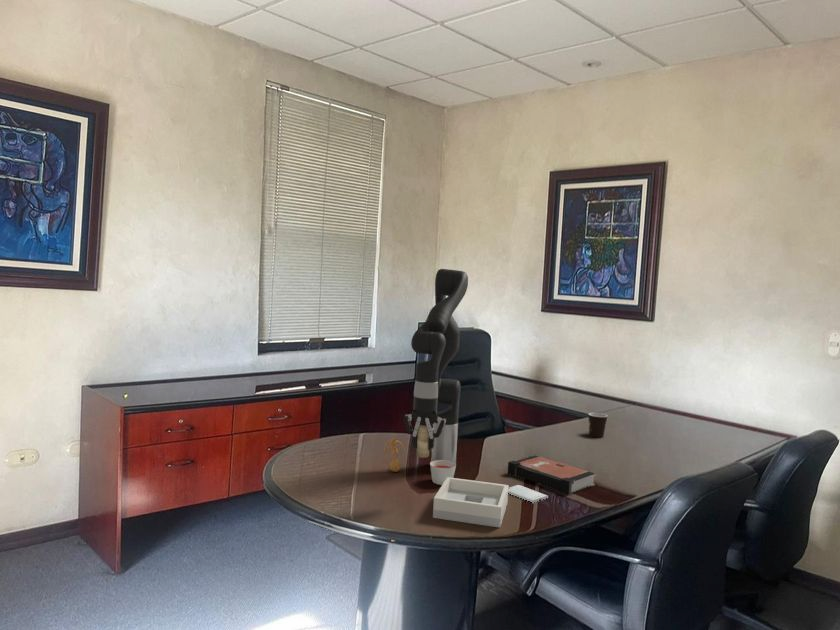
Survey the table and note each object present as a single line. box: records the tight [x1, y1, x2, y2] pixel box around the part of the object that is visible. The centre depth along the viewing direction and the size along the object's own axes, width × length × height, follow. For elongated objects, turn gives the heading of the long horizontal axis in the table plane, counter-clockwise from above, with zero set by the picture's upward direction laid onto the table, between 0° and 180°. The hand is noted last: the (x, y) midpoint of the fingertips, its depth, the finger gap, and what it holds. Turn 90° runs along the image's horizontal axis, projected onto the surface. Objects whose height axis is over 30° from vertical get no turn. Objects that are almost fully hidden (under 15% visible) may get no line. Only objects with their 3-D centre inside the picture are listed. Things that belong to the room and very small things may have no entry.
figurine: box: [383, 437, 406, 473], centre depth 227 cm, size 8×6×12 cm
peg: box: [416, 425, 430, 459], centre depth 197 cm, size 4×4×10 cm
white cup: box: [429, 460, 457, 486], centre depth 218 cm, size 9×9×6 cm
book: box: [507, 455, 597, 495], centre depth 227 cm, size 26×18×5 cm
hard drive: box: [508, 484, 549, 504], centre depth 209 cm, size 2×8×12 cm
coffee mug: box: [587, 412, 608, 439], centre depth 294 cm, size 12×9×10 cm
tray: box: [432, 477, 509, 528], centre depth 193 cm, size 20×20×6 cm
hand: (423, 448), depth 197 cm, fingers closed on peg, 4 cm apart
